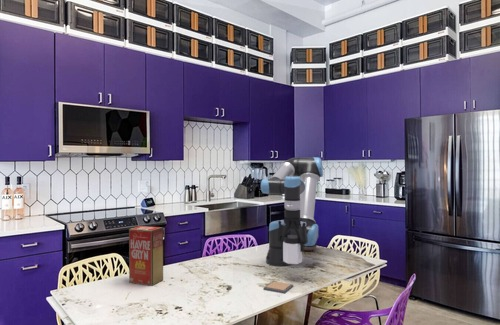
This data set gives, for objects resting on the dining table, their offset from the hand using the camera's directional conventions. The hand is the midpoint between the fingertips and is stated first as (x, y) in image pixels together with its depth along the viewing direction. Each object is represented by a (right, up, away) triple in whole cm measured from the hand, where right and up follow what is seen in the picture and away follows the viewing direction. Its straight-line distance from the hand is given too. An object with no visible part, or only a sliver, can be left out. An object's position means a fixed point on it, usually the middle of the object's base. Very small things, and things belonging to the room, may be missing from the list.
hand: (292, 257), depth 170 cm
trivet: (-8, -10, -12) cm, 18 cm away
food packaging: (-69, -11, -3) cm, 70 cm away
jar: (0, -2, 0) cm, 2 cm away
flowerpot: (+16, -11, +58) cm, 61 cm away
